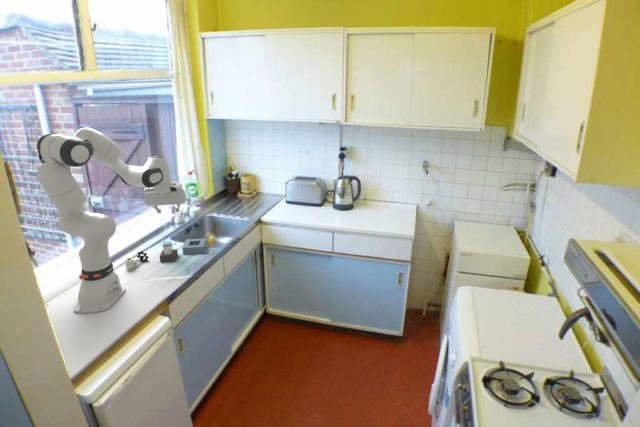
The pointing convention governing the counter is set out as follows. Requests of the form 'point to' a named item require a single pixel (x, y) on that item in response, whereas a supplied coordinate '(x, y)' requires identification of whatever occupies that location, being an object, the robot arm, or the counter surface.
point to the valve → (135, 261)
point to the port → (194, 246)
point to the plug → (167, 248)
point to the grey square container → (168, 256)
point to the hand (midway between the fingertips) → (168, 212)
